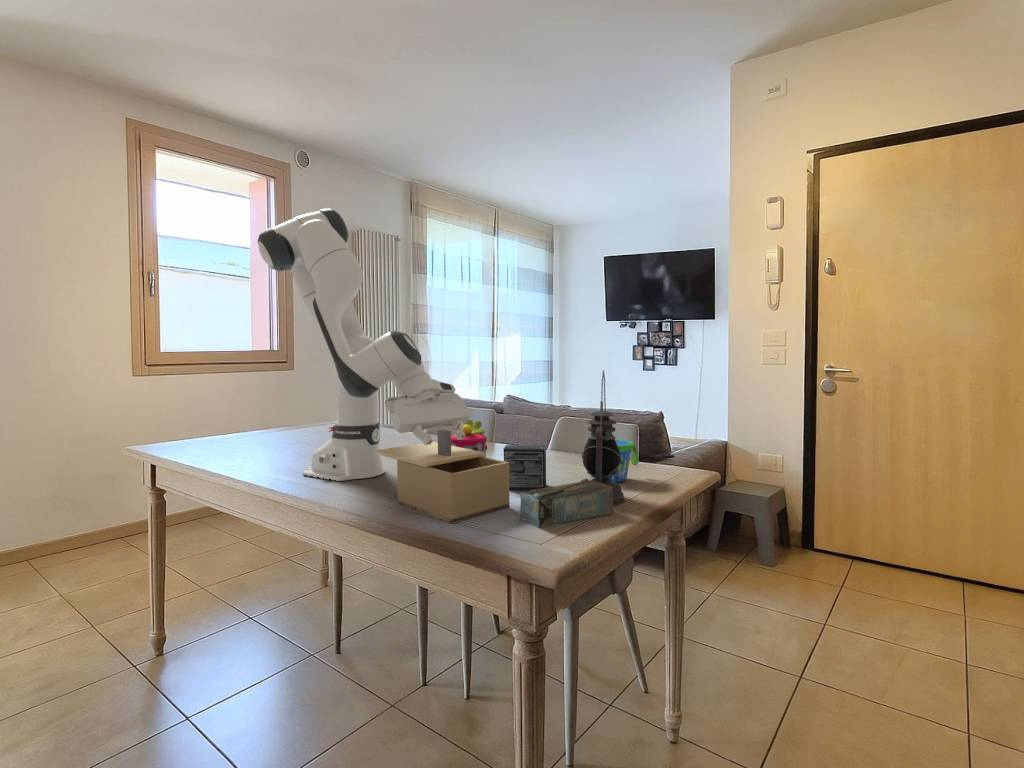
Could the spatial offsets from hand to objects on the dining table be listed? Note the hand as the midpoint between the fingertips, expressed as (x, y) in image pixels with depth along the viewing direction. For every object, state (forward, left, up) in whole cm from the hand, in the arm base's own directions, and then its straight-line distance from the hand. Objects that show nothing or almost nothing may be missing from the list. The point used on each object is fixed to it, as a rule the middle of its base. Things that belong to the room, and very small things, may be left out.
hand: (445, 440), depth 123 cm
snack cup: (+34, +32, -14) cm, 48 cm away
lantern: (+34, +13, -14) cm, 39 cm away
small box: (+14, +18, -14) cm, 27 cm away
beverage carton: (+29, -2, -15) cm, 32 cm away
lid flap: (-5, +2, -4) cm, 7 cm away
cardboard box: (+3, -2, -14) cm, 15 cm away
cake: (-5, +26, -14) cm, 30 cm away
